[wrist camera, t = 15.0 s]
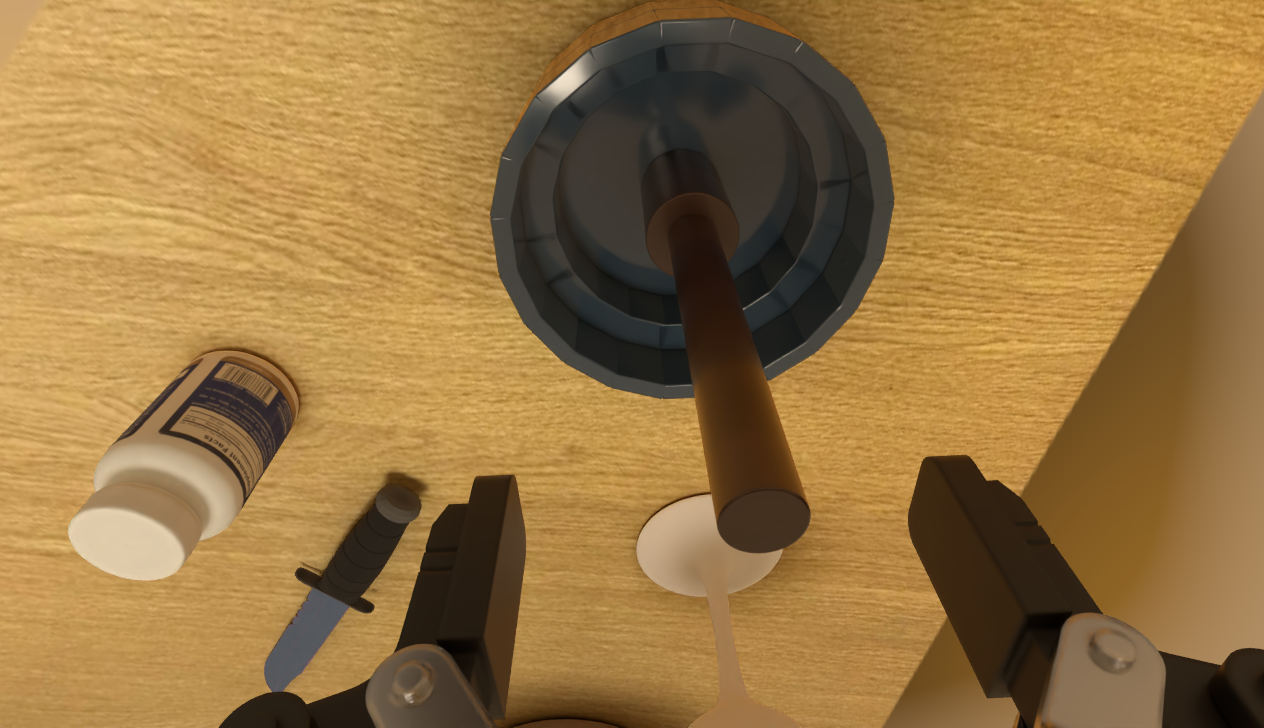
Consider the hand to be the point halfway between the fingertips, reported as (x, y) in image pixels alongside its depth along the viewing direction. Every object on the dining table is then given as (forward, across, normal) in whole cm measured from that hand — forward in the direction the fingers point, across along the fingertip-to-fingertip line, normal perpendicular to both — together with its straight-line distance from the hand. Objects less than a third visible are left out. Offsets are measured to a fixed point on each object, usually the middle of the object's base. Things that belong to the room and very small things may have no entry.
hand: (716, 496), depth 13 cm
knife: (+18, +21, +25) cm, 37 cm away
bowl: (+18, -1, 0) cm, 18 cm away
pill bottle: (+18, +20, +9) cm, 29 cm away
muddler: (+17, -1, 0) cm, 17 cm away
